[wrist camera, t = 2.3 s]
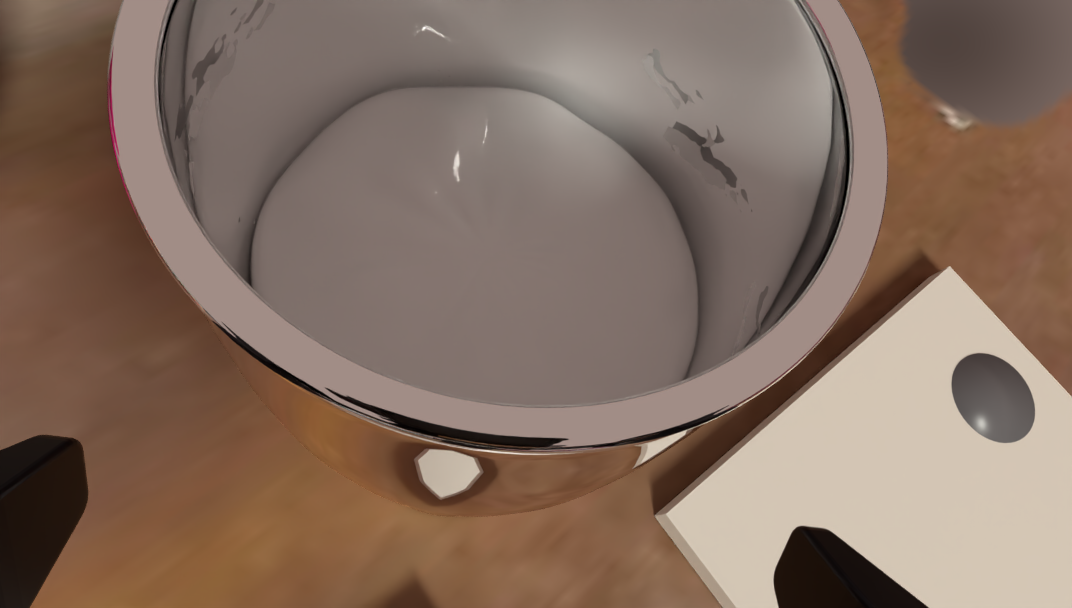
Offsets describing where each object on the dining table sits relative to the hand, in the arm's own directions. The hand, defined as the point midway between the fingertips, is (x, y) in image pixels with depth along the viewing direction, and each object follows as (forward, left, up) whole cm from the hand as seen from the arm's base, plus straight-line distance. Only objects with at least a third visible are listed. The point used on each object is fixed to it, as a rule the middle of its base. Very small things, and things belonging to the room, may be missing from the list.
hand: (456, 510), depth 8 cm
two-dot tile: (-10, -12, -11) cm, 19 cm away
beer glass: (+3, -2, -11) cm, 11 cm away
